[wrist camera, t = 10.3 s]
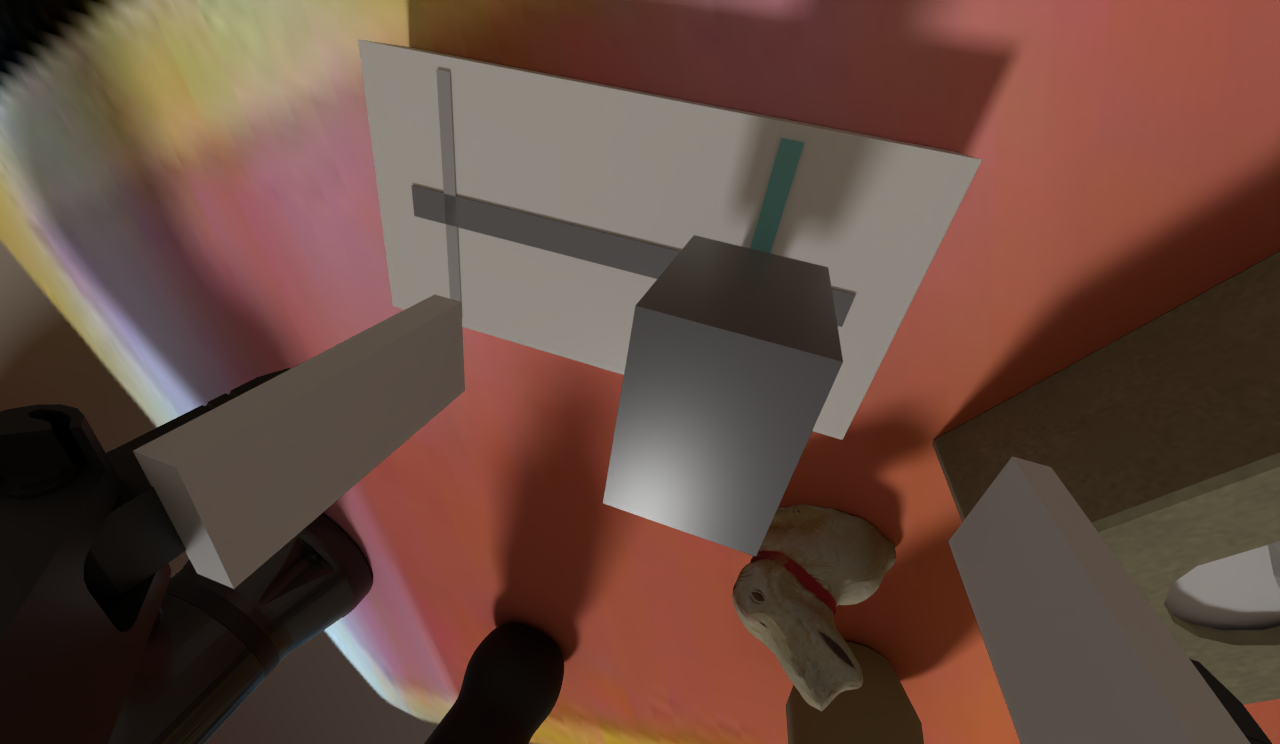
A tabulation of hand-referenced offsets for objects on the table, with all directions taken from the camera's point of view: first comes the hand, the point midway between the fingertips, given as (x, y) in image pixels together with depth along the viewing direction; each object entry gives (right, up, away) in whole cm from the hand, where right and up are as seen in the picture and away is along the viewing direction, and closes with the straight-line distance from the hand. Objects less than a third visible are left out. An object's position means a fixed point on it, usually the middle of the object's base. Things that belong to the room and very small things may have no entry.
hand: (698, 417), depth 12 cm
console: (-2, +8, +12) cm, 14 cm away
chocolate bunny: (+9, -9, +17) cm, 21 cm away
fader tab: (+3, +4, +8) cm, 9 cm away
